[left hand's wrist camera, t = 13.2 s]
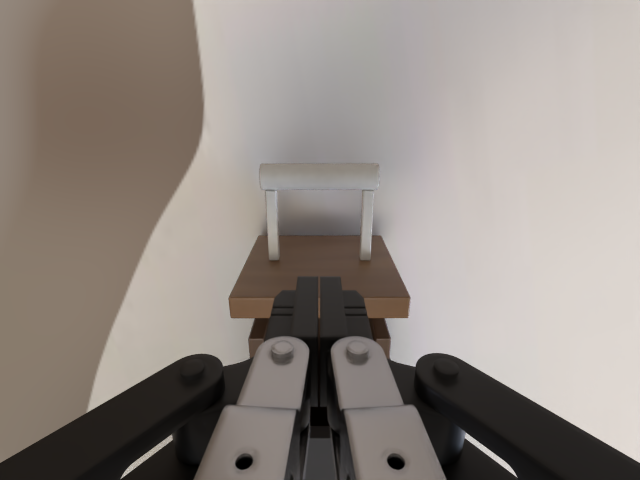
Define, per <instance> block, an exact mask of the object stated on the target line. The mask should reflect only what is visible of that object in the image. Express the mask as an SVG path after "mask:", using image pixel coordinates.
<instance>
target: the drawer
mask: <svg viewBox="0 0 640 480" xmlns="http://www.w3.org/2000/svg"><path fill="white" fill-rule="evenodd" d="M259 179H260V186H261V189H262V190H266V191H265V197H266V215H267V232H268V236H258V238H257V240H256V242H255V244H254V246H253V248H252V250H251V252H250V255H249V257H248V259H247V261H246V263H245V265H244V267H243V269H242V271H241V273H240V275H239V277H238V280H237V282H236V284H235V286H234V288H233V290H232V292H231V294H230V296H229V307H230V316H231V318H255V319H254V322H253V326H252V329H251V332H250V335H249V339H248V341H249V353H250V358H252V357H253V356H255V353H256V351H257V349H258V347H259V346H260V345H261V344H262V343H264V340H265V335H266V331H267V327H268V323H269V319H270V316H271V310H272V306H273V302H274V298H275V297H276V296H277V295H278V294H279V293H280V292H281V291H282V290H296V285H297V277H298V276H318V407H310V426H330V425H329V422H328V417H327V407H320V276H340V277H341V284H342V290H356V291H357V292H358V293H359V294H360V295H361V296H362V297H363V298H364V302H365V306H366V310H367V316H368V319H369V323H370V328H371V332H372V337H373V341H375V342H376V343H378V344H379V345H380V346H381V347H382V349H383V351H384V353H385V356H386V358H387V359H389V357H390V345H391V337H390V334H389V331H388V328H387V324H386V321H385V318H408V317H409V309H410V299H411V298H410V296H409V294H408V291H407V289H406V287H405V285H404V283H403V281H402V279H401V277H400V275H399V272H398V270H397V268H396V266H395V264H394V262H393V260H392V258H391V256H390V254H389V251H388V249H387V247H386V245H385V243H384V241H383V239H382V237H381V236H372V219H373V200H374V190H377V189H378V187H379V179H380V171H379V165H378V164H261V165H260V171H259ZM277 190H362V209H361V233H360V236H279V227H278V205H277Z"/></svg>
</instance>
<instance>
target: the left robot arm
mask: <svg viewBox="0 0 640 480" xmlns="http://www.w3.org/2000/svg"><path fill="white" fill-rule="evenodd" d="M310 407H318V276H298V277H297V285H296V290H282V291H281V292H280V293H279V294H278V295H277V296H276V297H275V298H274V302H273V306H272V310H271V316H270V319H269V323H268V327H267V331H266V335H265V340H264V343H262V344H261V345H260V346H259V347H258V349H257V351H256V353H255V356H253V357H252V358H250V359H248V360H246V361H243V362H240V363H237V364H233V365H228V366H224V367H223V365H222V362H221V361H220V360H219V359H218V358H217V357H215V356H212V355H208V354H195V355H190V356H187V357H184V358H182V359H180V360H178V361H176V362H174V363H172V364H171V365H169V366H167V367H165V368H164V369H162V370H160V371H159V372H157V373H155V374H153V375H152V376H150V377H148V378H146V379H145V380H143V381H141V382H140V383H138V384H136V385H134V386H133V387H131V388H129V389H127V390H126V391H124V392H122V393H121V394H119V395H117V396H115V397H114V398H112V399H110V400H108V401H107V402H105V403H103V404H102V405H100V406H98V407H96V408H95V409H93V410H91V411H89V412H88V413H86V414H84V415H83V416H81V417H79V418H77V419H76V420H74V421H72V422H71V423H69V424H67V425H65V426H64V427H62V428H60V429H58V430H57V431H55V432H53V433H51V434H50V435H48V436H46V437H45V438H43V439H41V440H39V441H38V442H36V443H34V444H32V445H31V446H29V447H27V448H25V449H24V450H22V451H20V452H19V453H17V454H15V455H13V456H12V457H10V458H8V459H6V460H5V461H3V462H1V463H0V480H305V473H306V465H307V456H308V448H309V439H310ZM320 407H327V417H328V422H329V425H330V439H331V448H332V456H333V465H334V473H335V480H640V463H639V462H637V461H635V460H634V459H632V458H630V457H628V456H627V455H625V454H623V453H621V452H620V451H618V450H616V449H614V448H613V447H611V446H609V445H608V444H606V443H604V442H602V441H601V440H599V439H597V438H595V437H594V436H592V435H590V434H589V433H587V432H585V431H583V430H582V429H580V428H578V427H576V426H575V425H573V424H571V423H570V422H568V421H566V420H564V419H563V418H561V417H559V416H557V415H556V414H554V413H552V412H551V411H549V410H547V409H545V408H544V407H542V406H540V405H538V404H537V403H535V402H533V401H532V400H530V399H528V398H526V397H525V396H523V395H521V394H519V393H518V392H516V391H514V390H513V389H511V388H509V387H507V386H506V385H504V384H502V383H500V382H499V381H497V380H495V379H494V378H492V377H490V376H488V375H487V374H485V373H483V372H481V371H480V370H478V369H476V368H474V367H473V366H471V365H469V364H468V363H466V362H464V361H462V360H461V359H459V358H457V357H454V356H451V355H448V354H442V353H432V354H427V355H424V356H422V357H421V358H420V359H419V360H418V361H417V363H416V367H413V366H409V365H404V364H400V363H397V362H394V361H391V360H389V359H387V358H386V356H385V353H384V351H383V349H382V347H381V346H380V345H379V344H378V343H376V342H375V341H373V337H372V332H371V328H370V323H369V319H368V316H367V310H366V306H365V302H364V298H363V297H362V296H361V295H360V294H359V293H358V292H357V291H356V290H342V284H341V277H340V276H320ZM465 433H467V434H469V435H470V436H472V437H473V438H474V439H476V440H477V441H478V442H480V443H481V444H482V445H484V446H485V447H486V448H488V449H489V450H491V451H492V452H493V453H495V454H496V455H497V456H499V457H500V458H501V459H503V460H504V461H505V462H507V463H508V464H509V465H510V467H511V468H512V469H513V470H514V472H515V473H516V475H517V477H518V478H517V477H516V476H514V475H513V474H512V473H510V472H509V471H508V470H506V469H505V468H504V467H502V466H501V465H500V464H498V463H497V462H496V461H494V460H493V459H492V458H490V457H489V456H488V455H486V454H485V453H484V452H482V451H481V450H480V449H478V448H477V447H476V446H474V445H473V444H472V443H470V442H469V441H468V440H466V439H465ZM171 434H172V437H173V440H172V441H171V442H170V443H168V444H167V445H166V446H164V447H163V448H162V449H160V450H159V451H158V452H156V453H155V454H154V455H152V456H151V457H150V458H148V459H147V460H146V461H144V462H143V463H142V464H140V465H139V466H138V467H136V468H135V469H134V470H132V471H131V472H130V473H128V474H127V475H126V476H124V477H123V478H122V479H121V476H122V475H123V473H124V472H125V470H126V469H127V468H128V467H129V466H130V465H131V464H132V463H133V462H135V461H136V460H137V459H139V458H140V457H141V456H143V455H144V454H145V453H147V452H148V451H149V450H151V449H152V448H154V447H155V446H156V445H158V444H159V443H160V442H162V441H163V440H164V439H166V438H167V437H168V436H170V435H171Z"/></svg>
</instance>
